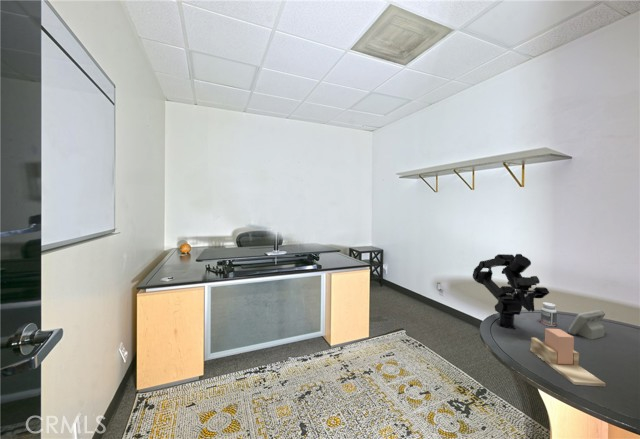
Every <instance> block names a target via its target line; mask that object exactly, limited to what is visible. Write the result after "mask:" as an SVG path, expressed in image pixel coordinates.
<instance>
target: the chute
mask: <svg viewBox="0 0 640 439" xmlns="http://www.w3.org/2000/svg"><path fill="white" fill-rule="evenodd" d="M529 351H530V352H532V354H534V355H535V356H536V355H537V356H536V357H538V358H539V359H540V358H541V359H540V360H542V361H543V362H544V361H545V362H544V363H546V364H547V365H548V366H550V367H551V368H552V369H554V371H556V372H557V373H559V374H560V376H562V377H563V378H565V379H567V380H568V382H570V383H572V385H575V386H576V385H577V386H589V387H590V386H591V387H592V386H593V387H606V383H605V382H604V381H603V380H601V379H599V377H596V375H594V374H592V373H591V372H589V371H588V370H586V369H585V368H583V367H582V366H581V365H579V364H580V363H579V360H580V353H579V352H578V351H576V350H573V364H557V352H556V351H555V350H553V349H552V348H550V347H549V346H547V345H546V344H545V342H543V341H541V340H540V339H539V338H537V337H531V339H530V349H529Z"/></svg>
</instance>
